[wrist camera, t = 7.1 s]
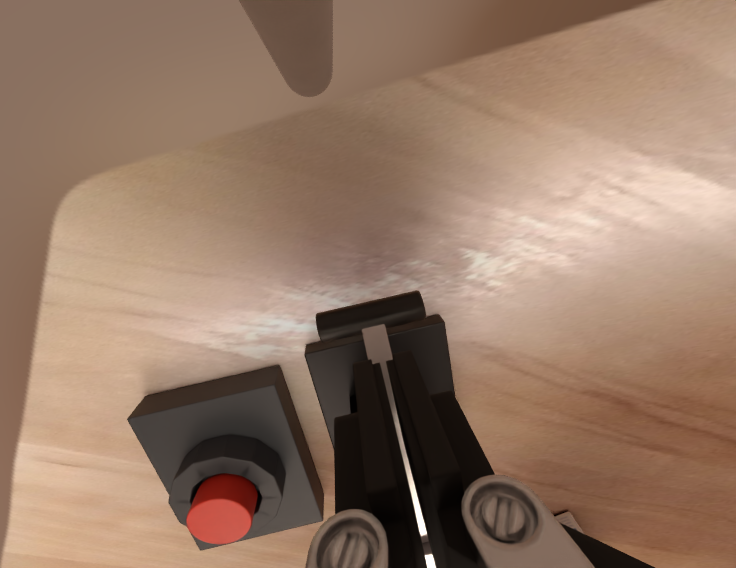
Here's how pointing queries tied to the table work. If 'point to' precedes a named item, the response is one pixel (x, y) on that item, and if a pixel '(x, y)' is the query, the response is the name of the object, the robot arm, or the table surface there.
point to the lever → (380, 356)
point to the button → (222, 509)
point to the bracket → (337, 358)
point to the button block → (233, 447)
